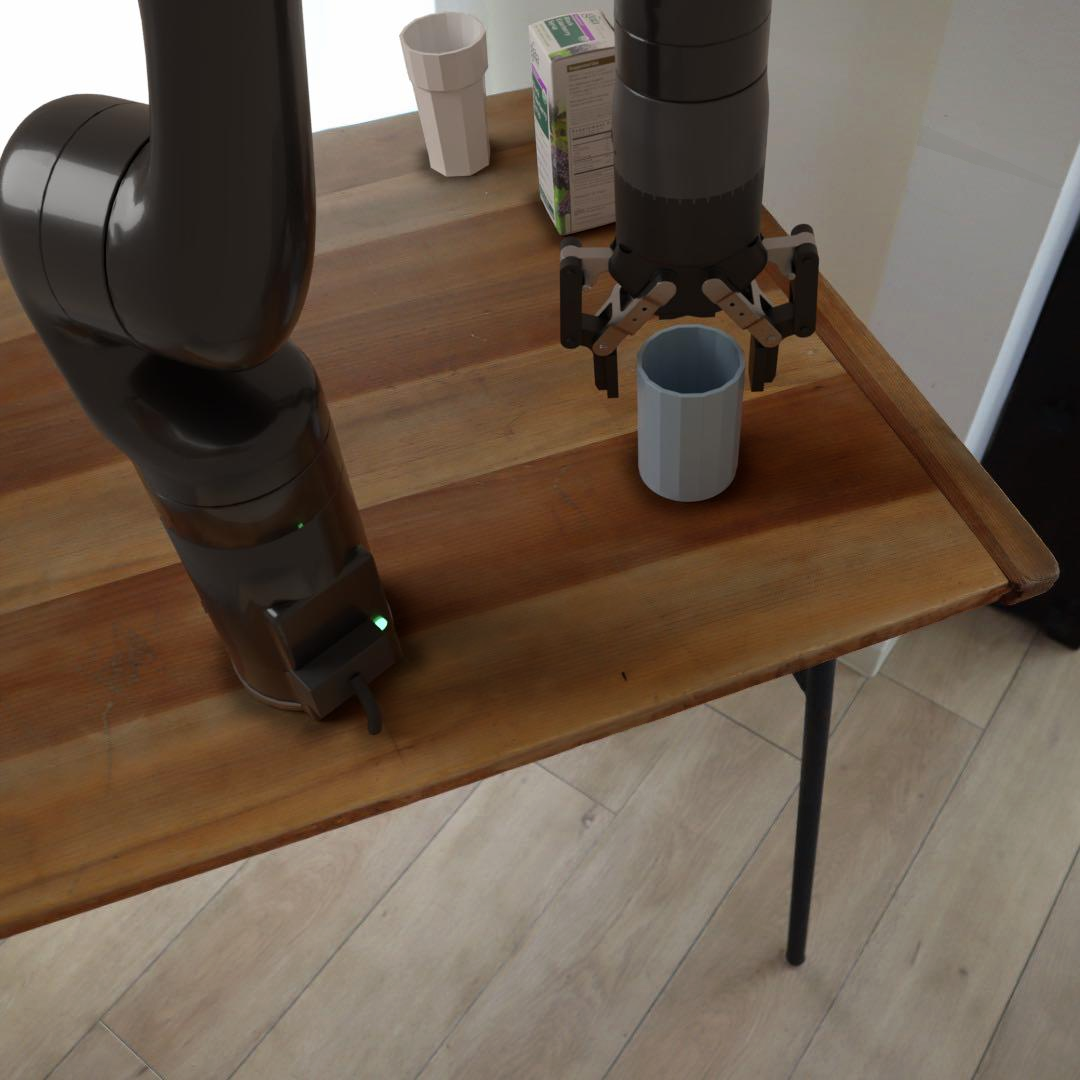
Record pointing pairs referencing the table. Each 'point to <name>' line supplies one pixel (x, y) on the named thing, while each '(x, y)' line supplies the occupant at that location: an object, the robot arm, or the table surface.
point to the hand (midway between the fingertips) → (684, 385)
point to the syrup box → (574, 118)
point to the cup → (450, 89)
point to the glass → (689, 411)
